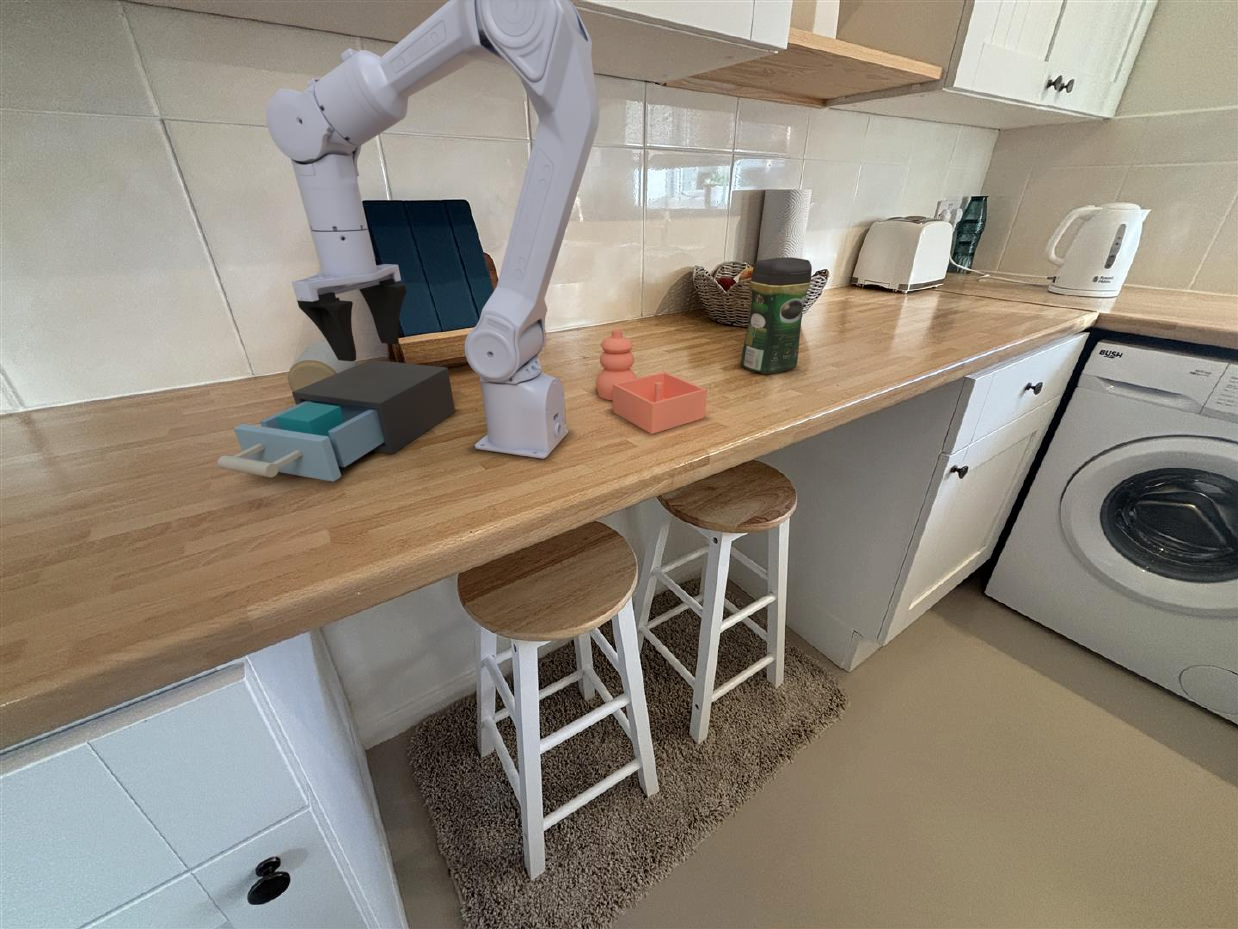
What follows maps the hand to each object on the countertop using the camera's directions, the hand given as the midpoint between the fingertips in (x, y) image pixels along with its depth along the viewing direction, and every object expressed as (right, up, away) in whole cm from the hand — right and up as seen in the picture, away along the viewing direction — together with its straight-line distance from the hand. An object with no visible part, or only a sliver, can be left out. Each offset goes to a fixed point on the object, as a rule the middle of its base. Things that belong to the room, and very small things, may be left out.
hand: (369, 351), depth 61 cm
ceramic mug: (-12, -4, +15) cm, 19 cm away
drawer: (-4, -13, -4) cm, 14 cm away
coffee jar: (+58, +3, +28) cm, 65 cm away
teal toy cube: (-3, -12, -4) cm, 13 cm away
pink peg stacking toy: (+34, -5, +13) cm, 37 cm away
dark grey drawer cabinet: (0, -9, +6) cm, 10 cm away
